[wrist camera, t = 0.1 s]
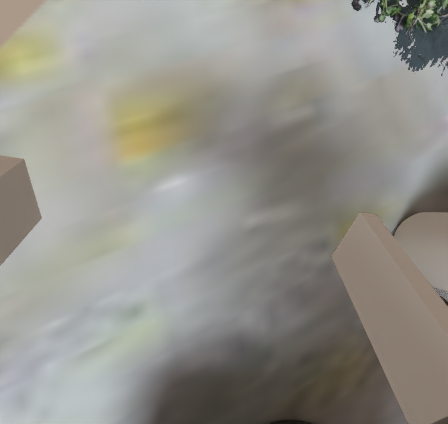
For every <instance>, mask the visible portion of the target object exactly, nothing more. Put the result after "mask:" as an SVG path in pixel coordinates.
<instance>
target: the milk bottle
mask: <svg viewBox="0 0 448 424" xmlns="http://www.w3.org/2000/svg"><path fill="white" fill-rule="evenodd" d="M394 238H395V239H396V241H397V242H398V243H399V244H400V246H401V247H402V248H403V250H404V251H405V252H406V253H407V255H408V256H409V257H410V259H411V260H412V261H413V262H414V264H415V265H416V266H417V268H418V269H419V270H420V271H421V273H422V274H423V275H424V277H425V278H426V279H427V280H428V282H429V283H430V284H431V286H432V287H435V288H438V289H441V290H444V291H447V292H448V212H421V213H417V214H415V215H412V216H410V217H408V218H407V219H406V220H404V221H403V222H402V223H401V224H400V225H399V227H398V228H397V230H396V232H395V234H394Z"/></svg>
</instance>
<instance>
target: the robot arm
mask: <svg viewBox="0 0 448 424" xmlns="http://www.w3.org/2000/svg"><path fill="white" fill-rule="evenodd" d="M41 218H42V217H41V214H40V211H39V207H38V204H37V201H36V197H35V194H34V191H33V187H32V184H31V181H30V177H29V174H28V171H27V167H26V164H25V161H24V159H20V158H13V157H7V156H0V266H1V264H2V263H3V262H4V261H5V260H6V259H7V257H8V256H9V255H10V254H11V253H12V252H13V251H14V249H15V248H16V247H17V246H18V245H19V244H20V243H21V241H22V240H23V239H24V238H25V237H26V236H27V235H28V233H29V232H30V231H31V230H32V229H33V228H34V227H35V225H36V224H37V223H38V222H39V221H40V220H41ZM331 257H332V259H333V261H334V264H335V266H336V268H337V270H338V272H339V274H340V277H341V279H342V281H343V283H344V285H345V288H346V290H347V292H348V294H349V296H350V298H351V301H352V303H353V305H354V307H355V309H356V312H357V314H358V316H359V318H360V320H361V323H362V325H363V327H364V329H365V331H366V333H367V336H368V338H369V340H370V342H371V344H372V347H373V349H374V351H375V353H376V355H377V357H378V360H379V362H380V364H381V366H382V368H383V371H384V373H385V375H386V377H387V379H388V381H389V384H390V386H391V388H392V390H393V392H394V395H395V397H396V399H397V401H398V403H399V405H400V408H401V410H402V412H403V414H404V416H405V419H406V421H407V423H408V424H448V302H447V301H446V300H445V299H444V298H443V297H441V296H439V295H438V293H437V292H436V291H435V289H434V288H433V287H432V286H431V284H430V283H429V282H428V280H427V279H426V278H425V277H424V275H423V274H422V273H421V271H420V270H419V269H418V268H417V266H416V265H415V264H414V262H413V261H412V260H411V259H410V257H409V256H408V255H407V253H406V252H405V251H404V250H403V248H402V247H401V246H400V244H399V243H398V242H397V241H396V239H395V238H394V237H393V235H392V234H391V233H390V232H389V230H388V229H387V228H386V226H385V225H384V224H383V223H382V221H381V220H380V219H379V217H378V216H377V215H375V214H369V213H363V212H360V213H359V214H358V216H357V217H356V219H355V220H354V222H353V223H352V225H351V226H350V228H349V230H348V231H347V233H346V234H345V236H344V237H343V239H342V240H341V242H340V244H339V245H338V247H337V248H336V250H335V251H334V253H333V254H332V256H331ZM271 424H309V423H306V422H300V421H281V422H275V423H271Z"/></svg>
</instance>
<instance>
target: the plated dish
mask: <svg viewBox="0 0 448 424" xmlns="http://www.w3.org/2000/svg"><path fill="white" fill-rule="evenodd" d="M367 1H369V2H368V5H367V6H366V7H368V6H369V5H370V4H371V3H372V2H374V0H364V2H365V3H367ZM400 1H402V0H400ZM358 2H359V0H353V1H352V3H351V4H352V6H353V9H355V10H357V11H358V10H360V9H361V5H360V4H359V3H358ZM365 3H364V4H365ZM407 3H408V4H409V5H406V7H402V6H401V5H400V4H399V0H380V3H379V2H378V5H377V8H376V16H375V18H374V21H375V22H377V23H378V22H383V21H384V20H385V16H389V15H390V17H391V18H392V17H393V19H392V20H395V21H396V24H395V25H396V26H395V25H394V26H395V31H396V32H399V35H398V37H396V39H397V44H395V49H397V48H398V49H399V50H400V49H401V48H402V46H403V51H404V50H405V53H403V51H402V52H400V54H399V55H401V54H402V53H403V54H402V59H401V61H402V60H403V59H404V60H406V59H408V60H407V61H406V64H407V63H409V62H410V63H409V68H408V70H410V66H411V68H412V66H413V70H414V71H415V67H417V68H416V71H418V70H419V69H420V68H421V70H423V68H424V67H425V66H426V65H427V64H428V62H429V60H432V59H433V58H434V60H433V61H432V64H431V66H430V67H432V65H435V64H434V63H436V62H437V61H438V58H442V56H444V57H443V58H442V60H443V61H444V60H445V59H446V58H448V0H407ZM402 5H403V4H402ZM379 7H381V10H382V11H381V12H382V13H381V14H378V10H379ZM407 7H408V8H407ZM411 7H412V8H411ZM385 23H386V22H385ZM395 34H396V33H395ZM411 34H412V36H413V38H412V36H411ZM415 38H416V39H415ZM414 39H415V42H414ZM417 39H418V40H417ZM398 41H399V42H398ZM393 42H396V41H393ZM412 42H414V45H413V46H411V48H410V49H408V48H407V47H408V46H410V45H411V43H412ZM398 46H399V47H398ZM415 46H416V47H415ZM414 48H416V49H414ZM410 51H411V53H410ZM397 52H398V51H397ZM397 52H396V53H395V54H397ZM393 53H394V52H393ZM413 53H414V54H413ZM408 54H411V57H410V58H411V59H410V58H407V56H408ZM419 54H421V55H419ZM395 56H396V55H395ZM395 56H394V57H395ZM400 57H401V56H400ZM442 60H441V61H440V62H441V64H442V62H443V61H442ZM423 64H424V65H423ZM445 64H446V63H445ZM446 65H447V66H448V62H447V64H446ZM446 65H445V66H446ZM422 66H423V67H422ZM439 66H440V64H439ZM439 66H438V67H439ZM442 66H443V65H442ZM447 68H448V67H447ZM413 70H412V71H413ZM444 70H445V67H444V69H443V71H444ZM414 71H413V72H414ZM442 74H443V73H442ZM442 74H441V76H442Z"/></svg>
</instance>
